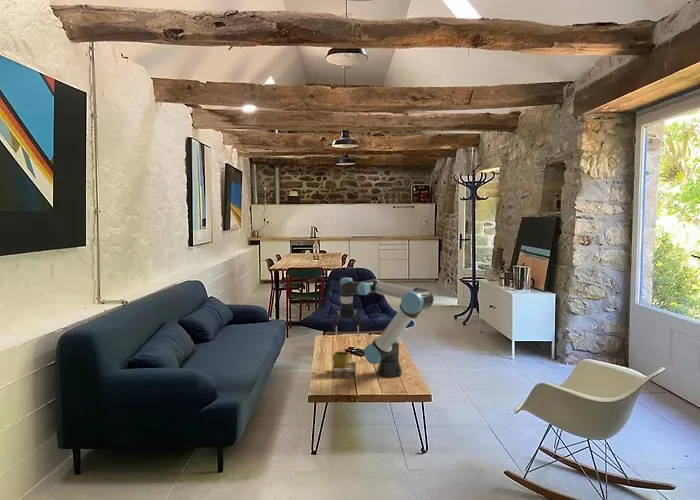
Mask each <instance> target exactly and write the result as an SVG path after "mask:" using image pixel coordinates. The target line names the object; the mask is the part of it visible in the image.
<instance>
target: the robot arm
mask: <svg viewBox="0 0 700 500" xmlns="http://www.w3.org/2000/svg"><path fill="white" fill-rule="evenodd" d="M339 286H340V310H336V311H335V315H334V317H333V318H332V320H331V323H330V326H331V327H333V332H334V333H335V338H337V337H338V326H337V325H338V324H339V323H340V322H341V320H342V319H343V318H345V319H347V318H348V319H349V318H351V319H352V320H353V321H354V322H355V324H356V325H357V337H358V338H360V332H361V331H362V326H364V321H363V320H362V318H361V316H360V314H359V311H358V309H356V310H354V303H353V302H354V298H353V297H354V295H359V296H360V295H361V296H367V295H369V293H374V294H378V295H382V296H387V297H392V298H395V299H400V304H399V310H398V312H397V313H396V314H395V316H394V317H393V318H392V319H391V321H390V322H389V323H388V325H387V326H386V328H385V329H384V330H383V331H382V332H381V334H380V336H376V337H375V338H374V339H373V341H372V342H371V344H368V345H366V346H365V348H364V350H363V354H364V358H365V360H366V361H367V362H368V363H369V364H372V365H377V364H378V366H377V369H376V370H377V371H376V373H377V375H378V376H380V377H383V378H397V377H400V376H402V373H403V369H402V367H401V364H400V339H399V336H401V334H402V333H403V331H404V330H405V329H406V328H407V326H408V325H409V323H410V322H411V321H412V320H414V319H417V318H418V316H419V315H420V314H421V313H422V311H425V310H427V309H430V308H431V307H432V306H433V304H434V295H433V293H432V292H431V290H429V289H427V288H423V287H422V288H421V287H414V288H413V287H408V286H403V285H398V284H394V283H388V282H384V281H380V280H379V279H376V278H372V279H369V280H364V281H354V280H353V278H352V277H342V278H340V284H339ZM354 314H355V315H356V316H357V318H358V320H357V318H356V317H355V316H354ZM338 315H340V316H339V318H338V319H337V317H338Z"/></svg>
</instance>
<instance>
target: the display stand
mask: <svg viewBox="0 0 700 500" xmlns="http://www.w3.org/2000/svg"><path fill="white" fill-rule="evenodd" d="M332 362H333V361H332ZM332 364H333V365H332V367H331V378H335V379H336V378H337V379H338V378H339V379H344V378H345V379H347V378H348V379H349V378H350V379H351V378H352V379H354V378H355V379H356V372H357V367H356V364H357V362H356V361H349V362H348V364H347V366H346V368H336V367H335V365H334V362H333V363H332Z"/></svg>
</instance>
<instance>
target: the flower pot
mask: <svg viewBox="0 0 700 500" xmlns="http://www.w3.org/2000/svg"><path fill="white" fill-rule="evenodd" d="M350 355H351V354H350V352H349V351H335V352H334V353H333V354H332V362H334V365H335V367H336V368H346V366H347V364H348V362H350V361H349V360H350Z"/></svg>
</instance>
